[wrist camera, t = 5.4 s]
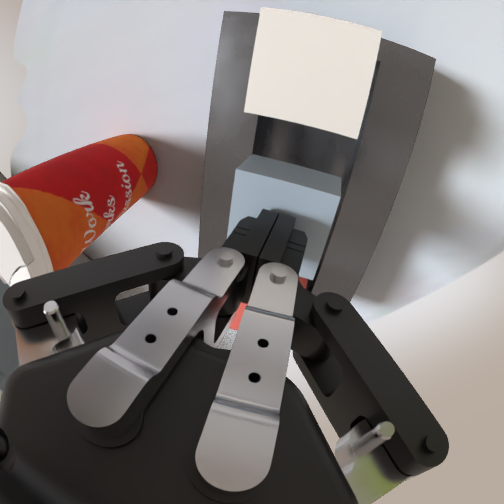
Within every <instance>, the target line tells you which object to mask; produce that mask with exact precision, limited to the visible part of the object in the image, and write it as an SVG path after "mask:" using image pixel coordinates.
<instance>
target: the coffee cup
mask: <svg viewBox="0 0 504 504" xmlns="http://www.w3.org/2000/svg"><path fill="white" fill-rule="evenodd" d="M156 178H157V161H156V157H155V155H154V152H153V151H152V149H151V147H150V146H149V145H148V144H147V142H146V141H144V140H143V139H142V138H140V137H138V136H136V135H132V134H125V135H120V136H116V137H112V138H109V139H106V140H102V141H99V142H96V143H93V144H90V145H87V146H85V147H82V148H79V149H76V150H73V151H71V152H68V153H65V154H63V155H60V156H58V157H55V158H53V159H50V160H48V161H46V162H43V163H41V164H39V165H36V166H34V167H32V168H30V169H27V170H25V171H23V172H21V173H19V174H17V175H15V176H12V177H10V178H9V179H6V180H4V181H2V182H0V279H1V280H2V281H3V282H4V284H6V282H7V284H8V285H9V286H12V285H13V284H15V283H17V282H20V281H23V280H27V279H30V278H33V277H37V276H40V275H43V274H47V273H50V272H54V271H57V270H60V269H64V268H67V267H68V266H69V265H70V264H71V263H72V262H73V261H74V260H75V259H76V258H77V257H78V256H79V255H80V254H81V253H82V252H83V251H84V250H85V249H86V248H87V247H88V246H89V245H90V244H91V243H92V242H93V241H94V240H95V239H97V238H98V237H99V236H100V235H101V234H102V233H103V232H104V231H105V230H106V229H107V228H108V227H109V226H110V225H111V224H112V223H114V222H115V221H116V220H117V219H118V218H119V217H120V216H121V215H122V214H123V213H125V212H126V211H127V210H128V209H129V208H130V207H131V206H132V205H133V204H135V203H136V202H137V201H138V200H139V199H140V198H141V197H142V196H143V195H145V194H146V193H147V192H148V191H149V190H150V189H151V187H152V186H153V185H154V183H155V181H156ZM10 282H11V283H10Z"/></svg>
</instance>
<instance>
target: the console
mask: <svg viewBox="0 0 504 504" xmlns="http://www.w3.org/2000/svg"><path fill="white" fill-rule="evenodd" d="M259 16H260V13H248V12H230V11H224V15H223V21H222V27H221V33H220V40H219V46H218V53H217V60H216V67H215V74H214V82H213V90H212V98H211V106H210V115H209V124H208V133H207V143H206V153H205V164H204V176H203V188H202V201H201V216H200V231H199V250H198V258H203V257H204V256H205V255H206V254H207V253H208V252H209V251H210V250H212V249H215V248H219V247H222V245H223V244H224V242H225V241H226V240H227V233H228V224H229V216H230V208H231V201H232V193H233V185H234V178H235V170H236V168H237V167H239V166H240V165H241V164H242V163H243V162H244V161H245V160H246V159H247V158H249V157H250V156H251V155H252V154H253V155H258V156H262V157H266V158H271V159H275V160H279V161H283V162H287V163H291V164H295V165H298V166H302V167H306V168H310V169H313V170H317V171H320V172H324V173H327V174H331V175H334V176H338V177H341V198H340V201H339V204H338V207H337V210H336V214H335V217H334V220H333V223H332V226H331V229H330V232H329V235H328V238H327V241H326V244H325V247H324V250H323V253H322V256H321V259H320V261H319V264H318V267H317V270H316V273H315V276H314V278H313V280H310V279H308V282H307V286H306V290H307V291H309V292H310V293H312V294H314V295H315V296H317V295H319V294H320V293H323V292H333V293H337V294H339V295H341V296H343V297H344V298H346V299H347V300H348V301H349V302H350V301H351V299H352V297H353V295H354V293H355V291H356V289H357V287H358V285H359V282H360V280H361V278H362V276H363V274H364V272H365V270H366V267H367V265H368V263H369V261H370V258H371V256H372V254H373V252H374V249H375V247H376V245H377V242H378V240H379V238H380V235H381V233H382V231H383V228H384V226H385V223H386V221H387V218H388V216H389V213H390V211H391V208H392V206H393V203H394V200H395V198H396V195H397V192H398V190H399V187H400V184H401V181H402V178H403V176H404V173H405V170H406V167H407V164H408V161H409V158H410V155H411V152H412V149H413V145H414V142H415V139H416V136H417V132H418V129H419V126H420V122H421V119H422V115H423V111H424V108H425V104H426V100H427V96H428V92H429V88H430V84H431V80H432V75H433V71H434V66H435V61H436V59H435V58H433V57H430V56H428V55H426V54H423V53H421V52H418V51H416V50H413V49H411V48H408V47H406V46H403V45H400V44H397V43H394V42H392V41H389V40H386V39H382V38H381V40H380V45H379V50H378V55H377V60H376V65H375V69H374V74H373V78H372V83H371V87H370V91H369V96H368V100H367V104H366V108H365V112H364V116H363V120H362V124H361V128H360V131H359V135H358V139H354V138H351V137H347V136H344V135H340V134H337V133H333V132H330V131H326V130H322V129H319V128H315V127H311V126H307V125H303V124H299V123H295V122H290V121H286V120H281V119H277V118H272V117H267V116H262V115H257V114H252V113H246V112H244V107H245V101H246V94H247V88H248V82H249V75H250V69H251V63H252V57H253V51H254V45H255V39H256V33H257V27H258V22H259Z"/></svg>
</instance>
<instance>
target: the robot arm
mask: <svg viewBox="0 0 504 504" xmlns="http://www.w3.org/2000/svg"><path fill="white" fill-rule="evenodd" d="M295 221H296V218H295V217H292V216H288V215H285V214H281V213H280V215H279V213H277V212H274V211H270V210H266V209H262V211H261V212H260V214H259V216H258V217H257V218H254V217H251V216H247V217H245V218H243V219H241V220H240V221H239V222H238V224H237V225H236V227H235V228H234V230H233V231H232V232H231V234H230V235H229V237H228V238H227V240H226V241H225V242H224V244H223V245H222V247H219V248H215V249H212V250H210V251H209V252H208V253H207V254H206V255H205V256H204V257H203V258H193V257H184V252H183V249H182V248H181V247H180V246H178V245H177V244H174V243H170V242H160V243H156V244H152V245H148V246H144V247H140V248H137V249H133V250H129V251H125V252H121V253H118V254H114V255H110V256H107V257H103V258H99V259H96V260H92V261H89V262H85V263H81V264H78V265H74V266H71V267H67V268H64V269H60V270H57V271H54V272H50V273H47V274H43V275H40V276H37V277H33V278H30V279H27V280H23V281H20V282H17V283H15V284H13V285H12V286H10V287H9V288H8V289H7V290H6V292H5V293H4V295H3V301H2V302H3V305H4V307H5V309H6V311H7V313H8V315H9V317H10V319H11V322H12V324H13V326H14V328H15V330H16V341H17V350H18V359H19V366H20V367H18V368H17V369H16V370H15V371H14V372H13V373H12V374H11V375H10V376H9V378H8V379H7V381H6V383H5V385H4V387H3V390H2V395H1V401H0V504H371V503H373V502H374V501H376V500H378V499H379V498H381V497H382V496H384V495H385V494H386V493H388V492H389V491H391V490H392V489H394V488H395V487H396V486H398V485H399V484H401V483H402V482H404V481H406V480H408V479H410V478H413V477H415V476H417V475H419V474H421V473H423V472H425V471H427V470H430V469H432V468H433V467H435V466H437V465H439V464H441V463H442V462H443V461H444V460H445V458H446V456H447V454H448V450H449V442H448V438H447V435H446V434H445V432H444V430H443V429H442V428H441V426H440V425H439V423H438V422H437V420H436V419H435V417H434V416H433V414H432V413H431V411H430V410H429V409H428V407H427V406H426V404H425V403H424V401H423V400H422V398H421V397H420V396H419V394H418V393H417V392H416V390H415V389H414V387H413V386H412V384H411V383H410V382H409V381H408V379H407V378H406V376H405V375H404V373H403V372H402V371H401V370H400V368H399V367H398V365H397V364H396V362H395V361H394V360H393V358H392V357H391V356H390V354H389V353H388V352H387V350H386V349H385V348H384V346H383V345H382V344H381V342H380V341H379V340H378V338H377V337H376V336H375V334H374V333H373V332H372V331H371V329H370V328H369V327H368V325H367V324H366V323H365V321H364V320H363V319H362V317H361V316H360V315H359V314H358V312H357V311H356V310H355V308H354V307H353V306H352V305H351V303H350V302H349V301H348V300H347V299H346V298H344V297H343V296H341V295H339V294H337V293H333V292H323V293H320V294H319V295H317V296H315V295H314V294H312V293H310V292H309V291H307V290H306V289H305V288H304V287H303V286H302V285H301V283H300V281H299V272H300V268H301V264H302V260H303V257H304V253H305V249H306V245H307V241H308V238H307V236H306V234H305V232H303V231H300V230H297V229H294V225H295ZM146 284H148V285H149V291H147V292H144V293H141V294H137V295H134V296H131V297H128V298H124V299H121V300H117V301H115V298H116V296H117V295H118V294H119V293H121V292H123V291H126V290H129V289H133V288H136V287H139V286H143V285H146ZM241 302H242V303H245V304H248V306H247V305H246V307H245V310H244V313H243V316H242V319H241V322H240V325H239V328H238V331H237V334H236V337H235V340H234V343H233V346H232V349H231V350H226V349H218V348H217V347H218V345H219V343H220V342H221V340H222V338H223V337H224V335H225V333H226V331H227V330H228V328H229V326H230V325H231V323H232V321H233V320H234V318H235V316H236V311H237V309H238V308H239V306H240V303H241ZM248 302H249V303H248ZM290 349H292V350H293V357H294V359H295V361H296V363H297V364H298V367H299V368H300V370H301V372H302V374H303V375H304V377H305V379H306V380H307V382H308V384H309V386H310V387H311V389H312V391H313V393H314V394H315V396H316V398H317V400H318V401H319V403H320V405H321V407H322V408H323V410H324V412H325V414H326V415H327V417H328V419H329V421H330V422H331V424H332V426H333V427H334V429H335V431H336V432H337V434H338V436H339V438H340V439H339V440H338V442H337V444H336V447H335V456H336V458H335V456H334V454H333V452H332V450H331V448H330V446H329V444H328V443H327V441H326V439H325V437H324V435H323V433H322V431H321V429H320V427H319V425H318V423H317V421H316V419H315V417H314V415H313V413H312V411H311V409H310V408H309V405H308V403H307V401H306V400H305V398H304V396H303V394H302V393H301V391H300V390H299V389H298V388H297V386H296V385H295V384H294V383H293V382H292V381H291V380H289V379H288V378H287V377H286V372H287V367H288V361H289V355H290ZM336 459H337V460H336Z"/></svg>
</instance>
